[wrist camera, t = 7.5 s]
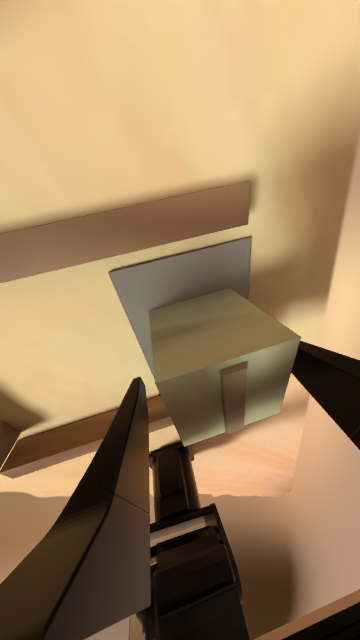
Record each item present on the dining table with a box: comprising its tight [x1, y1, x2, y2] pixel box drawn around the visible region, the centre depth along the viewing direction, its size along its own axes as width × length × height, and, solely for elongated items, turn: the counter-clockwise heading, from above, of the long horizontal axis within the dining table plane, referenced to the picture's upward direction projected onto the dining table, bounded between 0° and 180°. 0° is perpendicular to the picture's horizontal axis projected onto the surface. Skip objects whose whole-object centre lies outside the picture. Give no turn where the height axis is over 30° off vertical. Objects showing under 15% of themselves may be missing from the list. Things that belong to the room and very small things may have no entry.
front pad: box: [108, 237, 251, 379], centre depth 13 cm, size 12×9×1 cm
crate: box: [149, 288, 301, 447], centre depth 10 cm, size 6×6×6 cm
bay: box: [0, 181, 250, 479], centre depth 10 cm, size 17×24×5 cm
